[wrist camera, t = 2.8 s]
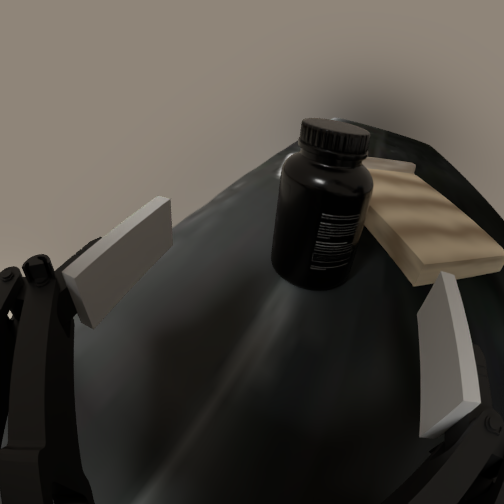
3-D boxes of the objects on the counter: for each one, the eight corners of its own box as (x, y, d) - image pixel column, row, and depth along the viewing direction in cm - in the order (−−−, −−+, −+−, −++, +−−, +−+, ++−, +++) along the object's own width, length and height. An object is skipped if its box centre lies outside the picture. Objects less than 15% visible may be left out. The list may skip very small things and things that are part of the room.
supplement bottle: (352, 255, 27) (385, 130, 20) (341, 303, 22) (388, 149, 15) (283, 235, 29) (301, 110, 22) (256, 277, 24) (274, 122, 17)
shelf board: (500, 271, 28) (514, 244, 25) (413, 286, 24) (430, 250, 22) (405, 183, 46) (411, 162, 43) (321, 178, 43) (326, 152, 40)
